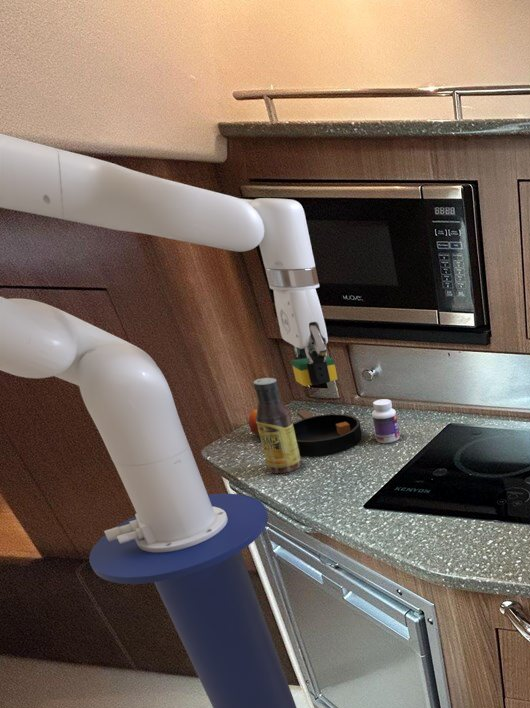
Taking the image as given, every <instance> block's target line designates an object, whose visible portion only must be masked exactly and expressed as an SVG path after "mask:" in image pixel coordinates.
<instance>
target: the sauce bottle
mask: <svg viewBox="0 0 530 708" xmlns="http://www.w3.org/2000/svg"><path fill="white" fill-rule="evenodd" d="M252 385H253V390H255V393H256V397H257V407H256V410H257V416H256V423H257V428H258V431H259V435H260V437H259V438H260V443H261V446H262V450H263V454H264V457H265V462H266V465H267V466H268V469H269V470H270V472H272V473H275V474H288V473H290V472H294V471H295V470H297V469H299V468H300V467H301V465H302V460H301V456H300V453H299V449H298V444H297V440H296V435H295V431H294V427H293V423H294V422H293V421H292V417H291V416H292V415H291V412H290V409H289V407H288V406H286V405H285V404H284V402H283V401H282V400H281V396H280V394H279V389H278V387H279V384H278V381H277V379H276V378H273V377H262V378H257V379H255V380H254V381H253V382H252Z"/></svg>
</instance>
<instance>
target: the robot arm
mask: <svg viewBox="0 0 530 708" xmlns="http://www.w3.org/2000/svg"><path fill="white" fill-rule="evenodd" d="M0 208H1V209H6V210H11V211H17V212H23V213H29V214H33V215H39V216H43V217H44V216H45V217H50V218H55V219H60V220H63V221H69V222H74V223H80V224H84V225H87V226H88V225H90V226H94V227H100V228H104V229H109V230H114V231H119V232H130V233H137V234H144V235H149V236H155V237H159V238H165V239H169V240H175V241H180V242H183V243H189V244H190V243H191V244H194V245H200V246H204V247H205V246H206V247H209V248H210V247H211V248H216V249H221V250H226V251H231V252H239V253H240V252H247V251H251V250H253V249H255V248H256V247H258V246H259V250H260V254H261V258H262V262H263V266H264V270H265V274H266V278H267V283H268V286H269V289H270V290H272V291H273V300H274V305H275V311H276V317H277V321H278V327H279V331H280V336H281V338H282V339H283V341H285V342H286V343H288V344H290V345H292V346H293V348H294V354H295V356H296V360H297V359H303V358H307V359H308V362H309V363H308V364H307V368H308V372H309V377H310V381H311V384H313V385H312V386H317V385H323V384H327V383H329V382H331V381H330V377H329V372H328V367H327V362H326V356H327V355H326V354H327V347H326V345H327V344H328V342H329V339H328V338H329V337H328V332H327V326H326V321H325V318H324V313H323V310H322V306H321V303H320V299H319V296H318V293H317V290H316V289H318V288H320V283H319V277H318V273H317V268H316V262H315V257H314V253H313V249H312V243H311V237H310V234H309V227H308V224H307V219H306V213H305V210H304V208H303V206H302V204H301V203H300V202H299V201H297V200H295V199H288V198H276V197H275V198H270V197H263V198H261V197H260V198H255V199H249V198H247V199H246V198H239V197H235V196H232V195H229V194H224V193H220V192H216V191H213V190H209V189H205V188H202V187H197V186H193V185H189V184H185V183H181V182H179V181H173V180H170V179H167V178H162V177H159V176H156V175H151V174H148V173H144V172H140V171H137V170H133V169H131V168H127V167H125V166H122V165H119V164H117V163H112V162H110V161H106V160H103V159H99V158H97V157H96V158H95V157H93V156H92V157H91V156H89V155H85V154H80V153H77V152H72V151H68V150H65V149H61V148H58V147H57V148H56V147H53V146H49V145H44V144H41V143H37V142H33V141H30V140H26V139H22V138H18V137H14V136H11V135H7V134H4V133H0ZM325 355H326V356H325ZM0 371H1V372H4V373H7V374H10V375H13V376H16V377H21V378H25V379H46V378H47V379H48V378H51V377H55V378H58V379H61V380H62V381H66V382H69V383H70V384H74V385H75V386H78V388H79V391H80V396H81V398H82V400H83V403H84V405H85V408H86V409H87V412H88V413H89V415H90V418H91V419H92V421H93V423H94V425H95V427H96V428H97V430H98V433H99V435H100V437H101V439H102V441H103V443H104V446H105V448H106V450H107V452H108V454H109V456H110V458H111V461H112V462H113V465H114V466H115V468H116V471H117V474H118V476H119V478H120V480H121V482H122V484H123V486H124V489H125V491H126V493H127V495H128V498H129V499H130V501H131V504H132V506H133V508H134V511H135V514H134V517H135V516H136V520H133V521H130V522H129V523H130V524H127V525H124V526H121V527H117V526H115V527H116V528H115V527H112V528H109V529H105V530H103V533H104V535H106V537H107V539H108V541H109V542H110V541H113V540H116V539H118V541H119V543H120V544H122V543H125V542H128V541H130V540H133V539H136V543H137V545H138V547H139V548H140V549H142V550H144V551H147V552H171V551H176V550H181V549H185V548H188V547H191V546H194V545H197V544H199V543H201V542H204V541H206V540H208V539H210V538H211V537H213V536H214V535H216V534H217V533H219V532H220V531H221V530H222V529H223V528H224V527H225V525H226V524H227V521H228V517H227V515H226V512H225V511H224V510H222V509H221V508H217V507H212V505H211V502H210V500H209V497H208V495H209V493H208V491H207V489H206V487H205V484H204V481H203V478H202V476H201V473H200V470H199V468H198V465H197V462H196V460H195V457H194V454H193V451H192V449H191V445H190V443H189V440H188V439H187V435H186V433H185V431H184V428H183V425H182V422H181V419H180V417H179V414H178V410H177V407H176V404H175V401H174V396H173V393H172V390H171V388H170V386H169V383H168V381H167V379H166V377H165V375H164V374H163V372H162V370H161V369H160V367H159V366H158V364H157V363H156V361H155V360H154V359H153V357H151V356H150V354H148V353H147V352H146V351H145V350H143V349H142V348H140V347H138V346H137V345H135V344H132V343H131V342H129V341H126V340H124V339H123V338H121V337H118V336H116V335H114V334H112V333H110V332H108V331H106V330H104V329H102V328H100V327H97V326H95V325H93V324H91V323H89V322H87V321H85V320H83V319H81V318H79V317H76V316H74V315H73V314H70V313H68V312H66V311H64V310H62V309H59V308H57V307H55V306H53V305H50V304H48V303H45V302H42V301H38V300H34V299H28V298H15V297H14V298H6V297H4V296H1V295H0Z"/></svg>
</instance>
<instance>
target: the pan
mask: <svg viewBox="0 0 530 708" xmlns="http://www.w3.org/2000/svg"><path fill="white" fill-rule="evenodd" d="M296 414H297V416H298V417H299V418H300V420H297V421H295V422H293V427H294V431H295V435H296V440H297V444H298V449H299V453H300V457H309V458H311V457H324V456H331V455H334V454H339V453H342V452H345V451H347V450H350V449H352V448H354V447H356V446H357V445H358V444H359V443H360V442H361V441H362V439H363V434H362V427H361V422H360V419H358V418H357V417H356V416H354V415H349V414H345V413H344V414H343V413H342V414H341V413H328V414H327V413H326V414H319V415H314V414H312V413H311V412H310V411H309V410H308V409H303V410H298V411H296ZM342 422H347V423H348V424H350V429H351V431H349V432H347V433H345V434H343V435H339V434H338V433H337V428H336V424H338V423H342Z"/></svg>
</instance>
